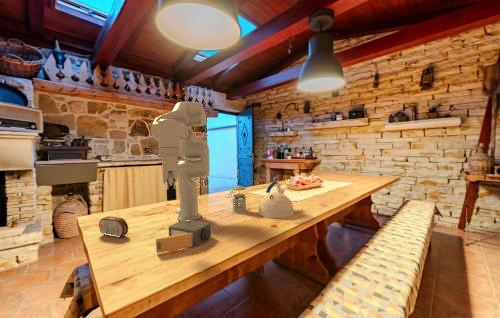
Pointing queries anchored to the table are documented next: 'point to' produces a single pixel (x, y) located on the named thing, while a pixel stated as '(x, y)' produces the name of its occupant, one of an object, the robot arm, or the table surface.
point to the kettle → (275, 204)
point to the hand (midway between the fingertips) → (171, 197)
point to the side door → (174, 242)
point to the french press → (239, 200)
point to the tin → (113, 226)
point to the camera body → (192, 230)
